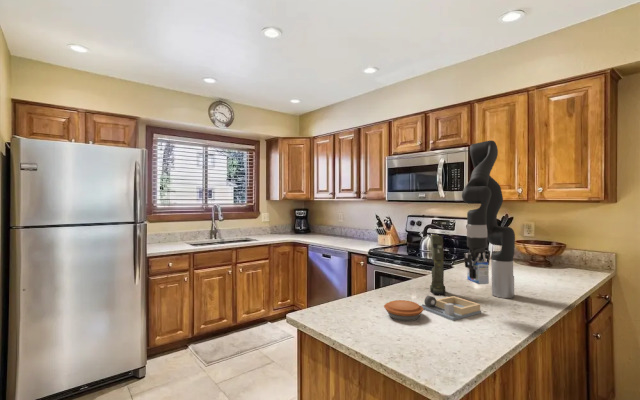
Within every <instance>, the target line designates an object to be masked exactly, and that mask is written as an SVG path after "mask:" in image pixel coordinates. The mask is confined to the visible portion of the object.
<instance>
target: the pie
mask: <svg viewBox="0 0 640 400" xmlns="http://www.w3.org/2000/svg"><path fill="white" fill-rule="evenodd" d="M383 307H384V309H385V311H386V312H387V313H388V315H389V317H391V318H392V319H394V320H398V321H405V322H406V321H407V322H409V321H410V322H411V321H415V320H417V319H418V318H419V317H420V315H421V314H422V313H423V312H424V311H425V310H424V309H423V307H422V306H421V305H420V304H419V303H417V302H414V301H412V300H406V299H405V300H404V299H396V300H391V301H389V302H387V303H384V305H383Z"/></svg>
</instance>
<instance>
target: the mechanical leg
mask: <svg viewBox="0 0 640 400" xmlns="http://www.w3.org/2000/svg"><path fill="white" fill-rule="evenodd" d="M443 243H444V239H443V236H442V235H438V234H431V235H430V246H431V260H432V261H433V265H434V266H433V267H432V268H431V284H430V285H429V286H430V287H429V290H430V293H432V295H434V296H443V297H444V296H445V294H446V286H445V283H444V281H445V280H444V279H445V278H444V276H445V275H444V272H445V271H444V270H445V269H444V257H445V256H444V247H443Z"/></svg>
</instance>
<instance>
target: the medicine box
mask: <svg viewBox="0 0 640 400" xmlns="http://www.w3.org/2000/svg"><path fill="white" fill-rule="evenodd" d="M472 261H473V260H472ZM468 265H469V263H468ZM489 265H490V263H489V264H488V262H487V261H486V262H485V261H478V262H477V263H476V268H475V270H476V278H475V279H472V278H470V276H469V268H467V271H466V272H467V273H466V275H467V277H466V278H467V279H466V280H467V281H470V282H472V283H475V284H477V285H488V284H489V283H490V275H489V273H490V272H489V271H490V270H489ZM472 266H473V264H472Z"/></svg>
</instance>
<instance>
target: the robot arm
mask: <svg viewBox="0 0 640 400" xmlns="http://www.w3.org/2000/svg"><path fill="white" fill-rule="evenodd" d="M469 154H470V158H471V163H472V165H473V168H474V169H473V170H472V171H471V174H470V179H469V181H468V183H466V185H465V186H464V188H462V189H463V190H462V193H461V198H462V201H463V202H464V203H465V204H470V205H474V204H475V205H476V204H477V205H479V204H480V206H479V207H478V208H475V209H470V210H468V211H467V212H466V213H467V214H466V218H467V219H466V220H467V222H466V223H467V224H466V226H467V227H466V246H467V248H469V250H468V252H463V259H464V266H465V268H469V276H470V278H472V279H475V278H476V270H475V268H476V263H477V262H478V261H485V262H488V264H489V265H490V264H491V295H492V296H494V297H497V298H503V299H511V298H512V299H513V298H514V297H515V276H514V256H515V244H516V234H515V231H514V229H513V228H512V227H508V226H499V224H498V220H497V219H498V218H497V216H498V214H499V211H500V209H501V207H502V205H503V202H504V198H503V197H504V196H503V191H502V187H501V185H500V184H499V183H498V182H497V180H496V179H494V177H492V176H491V171H492V170H493V167H494V166H495V163H496V160H497V158H498V156H499V155H498V154H499V151H498V145H497V143H496V142H495V141H494V140H485V141H482V142H476V143H472V144H471V145H470V146H469ZM488 242H489V243H490V244H491V245H494V246H499V247H501V248H500V250H499V251H496V252H492V253H491V251H490V250H487V249H488ZM490 257H491V259H490ZM472 260H473V261H472ZM490 261H491V263H490ZM468 263H469V265H468ZM472 264H473V266H472Z"/></svg>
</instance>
